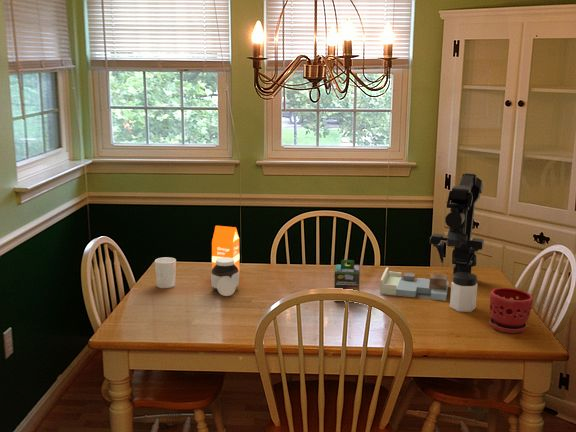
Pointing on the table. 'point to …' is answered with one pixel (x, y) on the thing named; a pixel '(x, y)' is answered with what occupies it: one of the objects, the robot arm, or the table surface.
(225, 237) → the orange juice
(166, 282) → the white cup
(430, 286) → the walnut block
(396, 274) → the deck
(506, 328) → the plant pot
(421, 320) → the table surface
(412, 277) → the gray block
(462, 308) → the jar
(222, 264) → the spread jar
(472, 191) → the robot arm
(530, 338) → the table surface
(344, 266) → the chalk box
